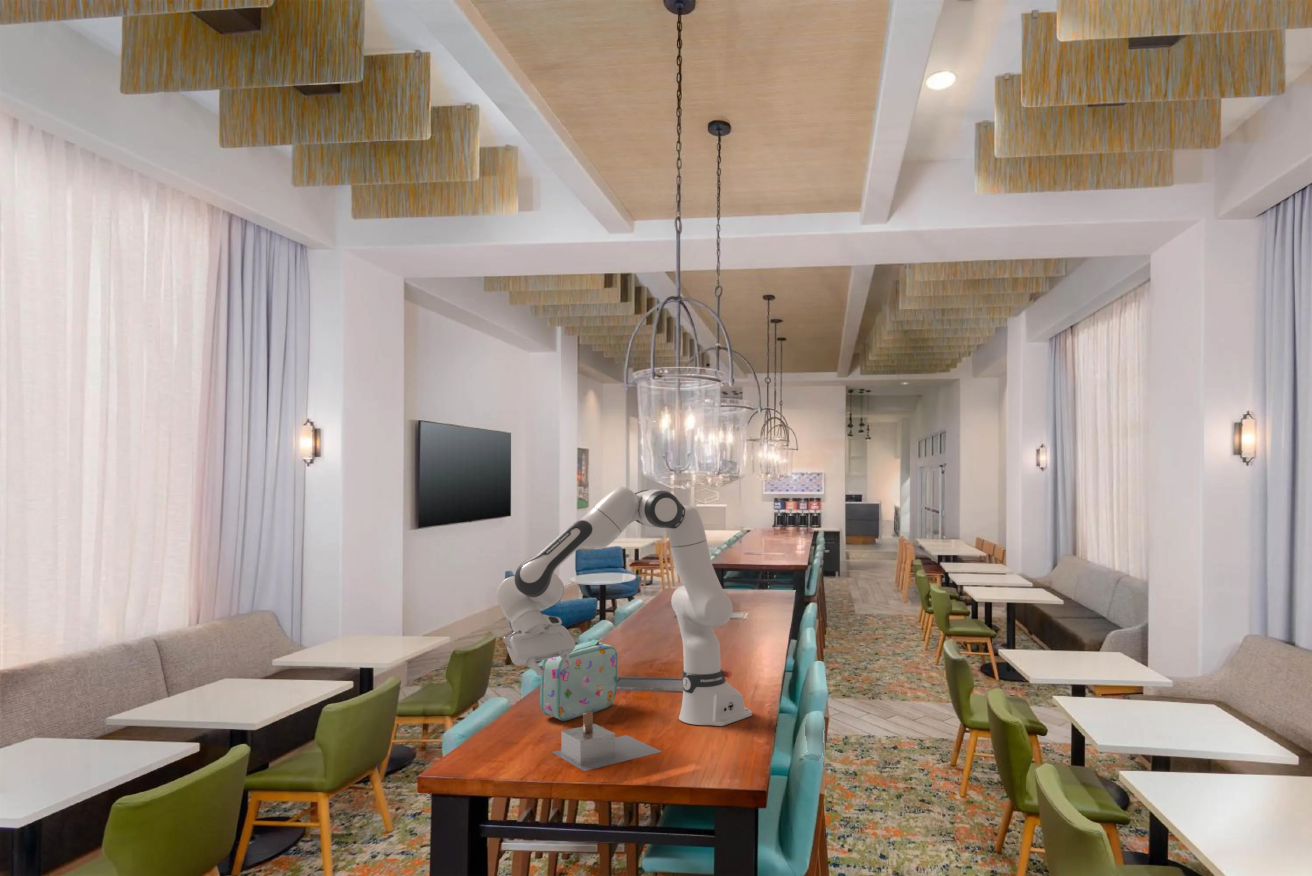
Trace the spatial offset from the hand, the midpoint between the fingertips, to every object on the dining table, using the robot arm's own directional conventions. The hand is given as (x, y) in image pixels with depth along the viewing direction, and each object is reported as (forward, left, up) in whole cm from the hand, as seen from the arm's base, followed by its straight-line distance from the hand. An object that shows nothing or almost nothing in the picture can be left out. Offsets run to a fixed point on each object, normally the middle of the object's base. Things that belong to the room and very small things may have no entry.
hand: (555, 670), depth 213 cm
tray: (-8, +12, -21) cm, 26 cm away
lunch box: (-22, -27, -21) cm, 41 cm away
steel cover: (-3, +12, -20) cm, 23 cm away
